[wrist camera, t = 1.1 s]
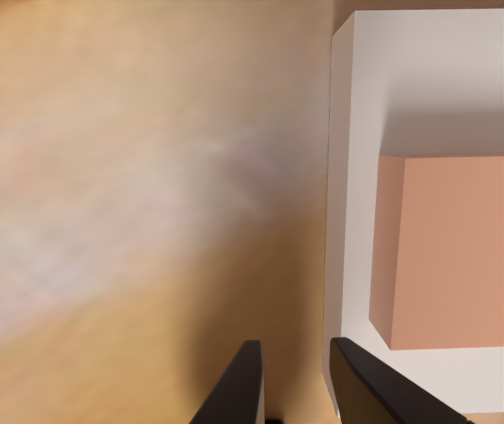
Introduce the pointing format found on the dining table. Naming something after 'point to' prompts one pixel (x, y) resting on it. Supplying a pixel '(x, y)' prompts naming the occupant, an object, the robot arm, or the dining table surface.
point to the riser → (402, 143)
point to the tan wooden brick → (439, 251)
